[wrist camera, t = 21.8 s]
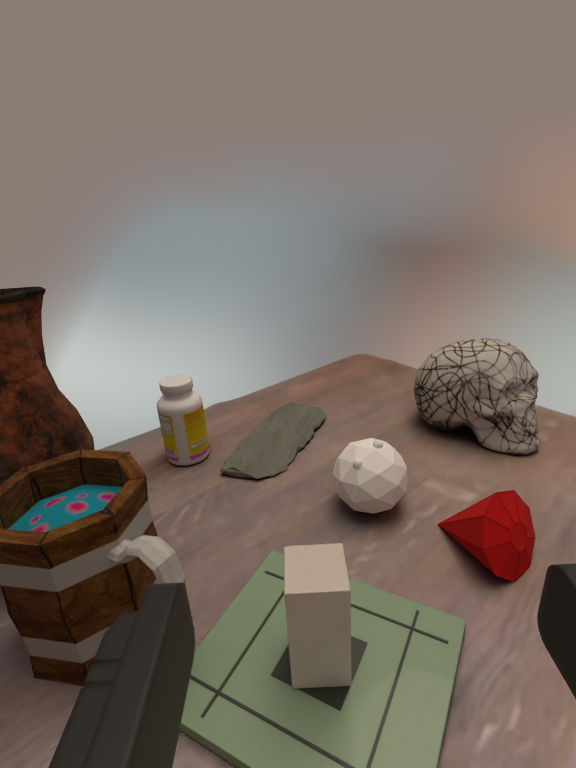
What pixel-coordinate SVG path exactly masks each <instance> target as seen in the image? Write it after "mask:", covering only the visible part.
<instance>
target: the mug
mask: <svg viewBox="0 0 576 768" xmlns="http://www.w3.org/2000/svg"><path fill="white" fill-rule="evenodd" d="M181 582H183V583H184V584H185V587H186V583H185V574H184V571H183V569H182V566H181V564H180V561H179V559H178V556H177V554H176V551H175V550H173V549H172V548H171V547H170V546H169V545H168V544H167V543H166V542H165V541H163V540H162V539H161V538H160V537H158V535H157V532H156V529H155V527H154V524H153V521H152V517H151V512H150V508H149V503H148V496H147V482H146V475H145V474H144V472H143V471H142V470H141V468H140V467H139V465H138V464H137V463H136V461H135V460H134V458H133V457H132V455H131V454H130V453H129V452H121V451H100V450H78V451H75V452H71V453H68V454H65V455H62V456H59V457H56V458H53V459H49V460H46V461H43V462H40V463H37V464H34V465H31V466H28V467H24V468H21V469H20V470H19V471H17V472H16V473H15V474H14V475H12V476H11V477H10V478H8V479H7V480H6V481H4V482H3V483H2V484H1V485H0V584H1V588H2V592H3V595H4V599H5V603H6V607H7V611H8V614H9V616H10V618H11V619H12V621H13V623H14V624H15V626H16V628H17V629H18V631H19V632H20V634H21V636H22V638H23V640H24V643H25V645H26V648H27V650H28V652H29V655H30V659H31V664H32V669H33V673H34V678H39V679H45V680H52V681H58V682H64V683H70V684H76V685H82V686H84V681H85V679H86V676H87V674H88V672H89V669H90V667H91V665H93V660H94V657H95V655H96V652H97V650H98V648H99V645H100V643H101V640H102V638H103V636H104V634H105V632H106V631H107V630H108V629H109V628H110V626H111V625H112V624H113V623H114V622H115V621H116V619H117V618H118V617H119V616H120V615H121V613H122V612H131V611H138V609H139V606H140V604H141V601H142V598H143V595H144V592H145V590H146V588H147V586H148V585H149V584H162V583H181Z"/></svg>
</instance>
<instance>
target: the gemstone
mask: <svg viewBox="0 0 576 768" xmlns="http://www.w3.org/2000/svg"><path fill="white" fill-rule="evenodd" d="M516 494H517V493H516V492H515V491H514V490H513V491H504V492H496V493H494V494H493V495H491V496H489V497H487V498H485V499H483V500H481V501H480V502H478V503H476V504H474V505H472V506H470V507H468V508H467V509H465V510H463V511H461V512H459V513H457V514H456V515H454V516H452V517H450V518H448V519H446V520H444V522H441V523H439V524H438V525H439V526H440V527H441V528H442V529H443V530H445V531H446V532H447V533H448V534H449V535H450V536H451V537H453V538H454V539H455V540H456V541H457V542H458V543H459V544H461V545H462V546H463V547H464V548H465V549H466V550H467V551H469V552H470V553H471V554H472V555H473V556H474V557H475V558H477V559H478V560H479V561H480V562H481V563H482V564H483V565H484V566H486V567H487V568H488V569H489V570H490V571H491V572H492V573H494V574H495V575H496V576H498V577H501V578H504V579H507V580H510V581H513V582H515V581H516V580H517V579H518V578H519V577H520V576H521V575H522V574H523V573H524V572H525V571H526V570H527V569H528V568H529V567H530V564H531V559H532V554H531V552H532V553H533V549H532V547H533V548H534V543H535V533H533V532H534V528H533V529H532V527H533V523H532V524H531V522H532V518H531V514H529V513H530V509H529V507H528V506H527V505H526V504H525V502H524V501H523V500H522V499H521V498H520V496H519V495H518V494H517V495H518V496H517V495H516ZM521 500H522V501H523V502H524V503H523V502H522V501H521ZM527 507H528V508H527ZM530 518H531V519H530ZM533 541H534V543H533ZM530 558H531V559H530ZM528 566H529V567H528ZM527 567H528V568H527ZM526 568H527V569H526ZM525 569H526V570H525ZM524 570H525V571H524ZM523 571H524V572H523ZM522 572H523V573H522ZM521 573H522V574H521ZM520 574H521V575H520ZM519 575H520V576H519ZM518 576H519V577H518ZM517 577H518V578H517ZM516 578H517V579H516ZM515 579H516V580H515ZM514 580H515V581H514Z"/></svg>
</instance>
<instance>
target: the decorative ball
mask: <svg viewBox="0 0 576 768" xmlns="http://www.w3.org/2000/svg"><path fill="white" fill-rule="evenodd" d="M332 476H333V479H334V483H335V486H336V490H337V493H338V496H339V497H340V498H341V499H342V500H343V501H344V502H346V503H347V504H348V505H349V506H350V507H351V508H352V509H353V510H355V511H361V512H367V513H373V514H374V513H378V512H382V511H386V510H390V509H392V508H393V507H394V506H395V504H396V503H397V502H398V501H399V500H400V499H401V498H402V497H403V496H404V494H405V493H406V490H407V480H408V472H407V467H406V465H405V463H404V461H403V458H402V456H401V455H400V454H399V453H398V452H397V451H396V450H395V449H394V448H393V447H392V446H391V445H389V444H388V443H387V442H385V441H381V440H377V439H373V438H369V439H365V440H360V441H356V442H351V443H349V444H348V445H347V447H346V448H345V449H344V450H343V452H342V453H341V454H340V456H339V457H338V458H337V459H336V463H335V466H334V470H333V474H332Z"/></svg>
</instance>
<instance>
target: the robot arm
mask: <svg viewBox="0 0 576 768" xmlns="http://www.w3.org/2000/svg"><path fill="white" fill-rule="evenodd" d="M537 619H538V627H539V631H540V635H541V638H542V640H543V643H544V645H545V647H546V649H547V650H548V652H549V654H550V655H551V657H552V659H553V661H554V662H555V664H556V666H557V667H558V669H559V671H560V673H561V674H562V676H563V678H564V679H565V681H566V683H567V685H568V686H569V688H570V690H571V692H572V693H573V695H574V697H575V698H576V564H561V565H551V566H549V568H548V569H547V573H546V577H545V582H544V587H543V591H542V596H541V601H540V605H539V610H538V618H537ZM194 649H195V634H194V627H193V622H192V617H191V612H190V607H189V602H188V597H187V592H186V587H185V584H184V583H183V582H181V583H162V584H149V585H148V586H147V588H146V590H145V592H144V595H143V598H142V601H141V604H140V606H139V609H138V611H131V612H122V613H121V615H120V616H119V617H118V618H117V619H116V621H115V622H114V623H113V624H112V625H111V626H110V628H109V629H108V630H107V631H106V632H105V634H104V636H103V638H102V640H101V643H100V645H99V648H98V650H97V652H96V655H95V657H94V660H93V665H91V667H90V669H89V672H88V674H87V676H86V679H85V681H84V687H83V688H81V691H80V693H79V696H78V698H77V700H76V703H75V705H74V708H73V710H72V713H71V715H70V717H69V720H68V722H67V725H66V727H65V729H64V732H63V734H62V737H61V739H60V741H59V744H58V746H57V749H56V751H55V753H54V756H53V758H52V761H51V763H50V765H49V768H172V765H173V760H174V755H175V750H176V745H177V740H178V735H179V730H180V725H181V720H182V715H183V710H184V705H185V700H186V695H187V690H188V685H189V680H190V675H191V670H192V665H193V659H194Z"/></svg>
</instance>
